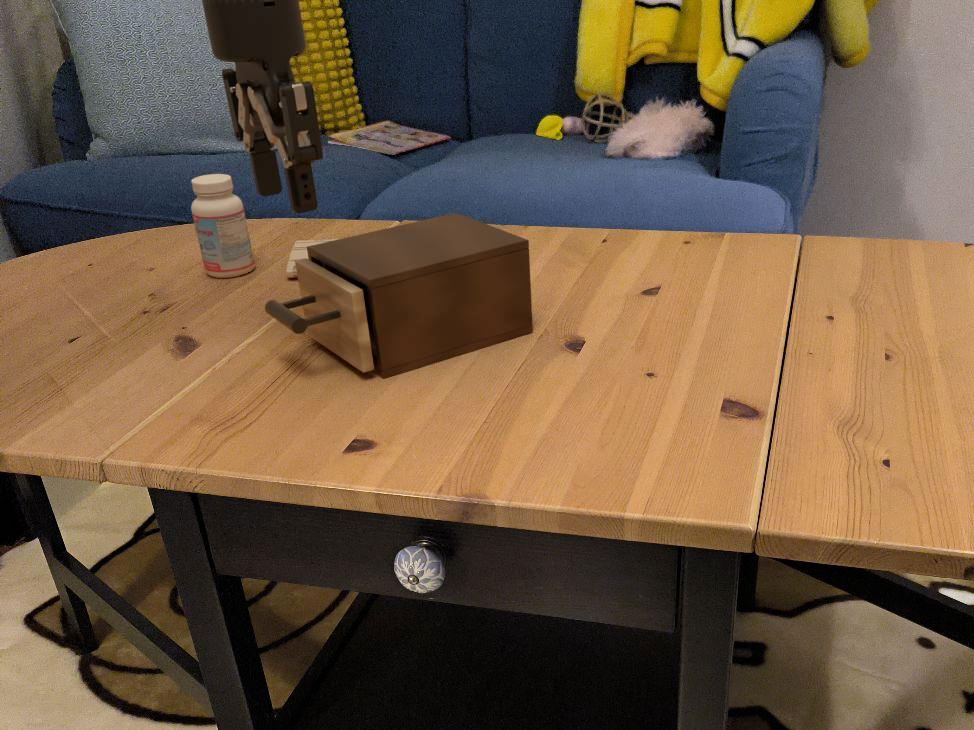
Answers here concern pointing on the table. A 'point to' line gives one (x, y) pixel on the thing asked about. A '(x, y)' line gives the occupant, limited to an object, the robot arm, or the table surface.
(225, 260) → the pill bottle
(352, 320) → the drawer
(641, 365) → the table surface
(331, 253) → the cabinet
